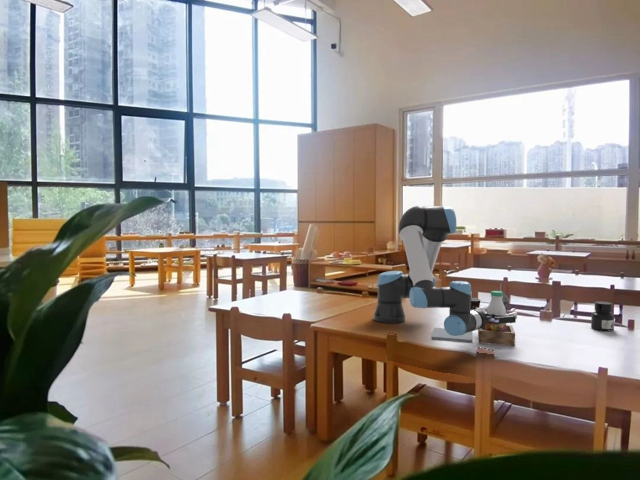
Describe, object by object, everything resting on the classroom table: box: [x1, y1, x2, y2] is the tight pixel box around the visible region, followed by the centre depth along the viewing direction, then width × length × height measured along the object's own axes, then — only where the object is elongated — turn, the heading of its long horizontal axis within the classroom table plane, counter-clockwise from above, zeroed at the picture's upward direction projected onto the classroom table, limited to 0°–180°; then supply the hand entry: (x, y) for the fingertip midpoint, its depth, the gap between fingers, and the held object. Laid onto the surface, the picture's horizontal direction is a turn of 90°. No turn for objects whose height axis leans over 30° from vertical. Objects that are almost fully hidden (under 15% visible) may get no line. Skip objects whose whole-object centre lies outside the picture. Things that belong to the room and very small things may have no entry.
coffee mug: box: [471, 297, 481, 310], centre depth 228 cm, size 12×9×10 cm
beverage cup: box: [499, 283, 509, 315], centre depth 214 cm, size 7×7×20 cm
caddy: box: [477, 324, 516, 347], centre depth 192 cm, size 13×13×5 cm
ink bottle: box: [590, 301, 615, 332], centre depth 211 cm, size 10×9×12 cm
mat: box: [431, 327, 474, 343], centre depth 198 cm, size 16×16×1 cm
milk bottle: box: [486, 290, 507, 332], centre depth 192 cm, size 8×8×20 cm
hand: (500, 312), depth 194 cm, fingers open, 13 cm apart
